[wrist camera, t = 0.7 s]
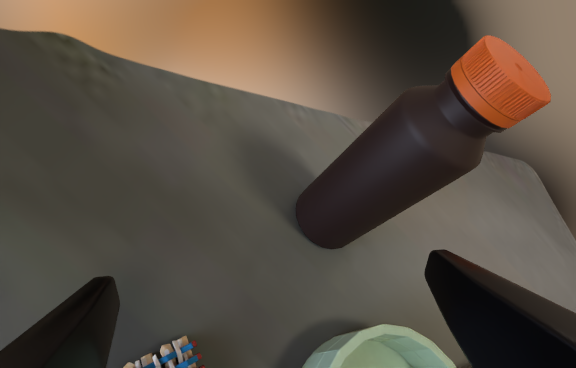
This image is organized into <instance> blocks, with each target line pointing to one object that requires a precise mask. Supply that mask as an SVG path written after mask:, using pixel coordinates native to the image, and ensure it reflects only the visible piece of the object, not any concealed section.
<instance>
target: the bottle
mask: <svg viewBox="0 0 576 368" xmlns="http://www.w3.org/2000/svg"><path fill="white" fill-rule="evenodd" d="M550 100H551V94H550V92H549V89H548V87H547V85H546V84H545V82H544V80H543V79H542V77H541V76H540V75H539V74H538V72H537V71H536V70H535V69H534V68H533V66H532V65H531V64H529V62H528V61H527V60H526V59H525V58H524V57H523V56H522V55H521V54H519V53H518V52H517V51H516V50H515V49H514V48H512V47H511V46H510V45H508V44H507V43H505V42H504V41H502V40H500V39H499V38H496V37H494V36H484V37H483V38H482V39H481V40H480V41H478V42H477V43H476V44H475V45H474V46H473V47H472V48H471V49H470V50H469V51H468V52H467V53H465V54H464V55H463V56H462V57H461V58H460V59H459V60H458V61H457V62H456V63H455V64H454V65H453V66H452V68H451V69H450V70H448V72H447V73H446V74H445V80H444V81H443V82H442V83H441V84H440V85H433V86H432V85H431V86H417V87H412V88H409V89H407V90H405V92H403V93H402V94H401V95H400V96H399V97H398V98H397V99H396V100H395V101H394V102H393V103H392V104H391V105H390V106H389V107H388V108H387V109H386V110H385V111H384V112H383V113H382V114H381V115H380V116H379V117H378V118H377V119H376V120H375V121H374V122H373V123H372V124H371V125H370V126H369V127H368V128H367V129H366V130H365V131H364V132H363V133H362V134H361V135H360V136H359V137H358V138H357V139H356V140H355V141H354V142H353V143H352V144H351V145H350V146H349V147H348V148H347V149H346V150H345V151H344V152H343V153H342V154H341V155H340V156H339V157H338V158H337V159H336V160H335V161H334V162H333V163H332V164H331V165H330V166H329V167H328V168H327V169H326V170H325V171H324V172H323V173H322V174H321V175H320V176H318V177H317V178H316V179H315V180H314V181H313V182H312V183H311V184H310V185H309V186H308V187H307V188H306V189H305V190H304V191H303V193H302V194H301V195H300V196H299V199H298V201H297V204H296V216H297V219H298V223H299V225H300V227H301V229H302V230H303V232H304V234H305V235H306V236H307V237H308V238H309V239H310V240H311V241H312V242H314V243H316V244H317V245H319V246H321V247H324V248H329V249H336V248H342V247H344V246H345V245H347V244H349V243H350V242H352V241H354V240H355V239H357V238H359V237H360V236H362V235H364V234H365V233H367V232H369V231H371V230H372V229H374V228H376V227H377V226H379V225H381V224H382V223H384V222H386V221H387V220H389V219H391V218H392V217H394V216H396V215H397V214H399V213H401V212H402V211H404V210H406V209H407V208H409V207H411V206H413V205H414V204H416V203H418V202H419V201H421V200H423V199H424V198H426V197H428V196H429V195H431V194H433V193H434V192H436V191H438V190H439V189H441V188H443V187H444V186H446V185H448V184H449V183H451V182H453V181H455V180H456V179H458V178H460V177H461V176H463V175H465V174H466V173H468V172H470V171H471V170H473V169H474V168H475V167H477V166H478V165H479V163H480V161H481V158H482V155H483V151H484V145H485V141H486V137H487V136H488V135H489V134H491V133H492V132H498V133H501V132H502V131H504V130H505V129H507V128H510V127H512V126H513V125H515V124H517V123H518V122H520V121H521V120H523V119H525V118H526V117H528V116H529V115H531V114H533V113H534V112H536V111H537V110H539V109H540V108H542V107H544V106H545V105H547V104H548V103H549V102H550Z"/></svg>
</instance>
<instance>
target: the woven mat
mask: <svg viewBox="0 0 576 368" xmlns="http://www.w3.org/2000/svg"><path fill="white" fill-rule="evenodd" d="M172 343H173V346H174V348H175V351H173V349H172V347H171V345H170V344H166V345H162V347H161V350H160V354H161V355H162V358H160V359H157V357H156V355H154V356H153V355H152V353H150V354H147V355H145V356H143V357H142V358H141V361H142V366H143V367H142V368H161V366H160V365H162V364H165V368H197V366H196V363H195V362H197V361H198V360H199V359H201V358H202V357H201V354H200V353H198V354H196V355H194V356H193V354H192V351H191V349H192V348H194V347H195V346H197V344H196V341H193V342H191V343H188V340H187V337H186V336H184V337H182V338H180V339H178V340H176V341H172ZM175 357H178V361H179V364H176V359H175ZM135 366H136V368H141V365H140V361H139V360H138V361H136V362H135V364H132V363H130V362H128V363H127V364H126V365H125V366H124V367H123V368H135ZM199 368H205V366H204V365H202V366H201V367H199Z"/></svg>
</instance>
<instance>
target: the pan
mask: <svg viewBox="0 0 576 368" xmlns="http://www.w3.org/2000/svg"><path fill="white" fill-rule="evenodd" d="M302 368H456V366H455V365H454V363H453V362H452V361H451V360H450V359H449V358H448V357H447V356H446V355H445V354H444V353H443V352H442V351H441V350H440V349H439V348H438V347H437V346H436V345H435V344H434V343H433V342H432V341H431V340H429V339H428V338H426V337H424V336H422V335H421V334H419V333H417V332H415V331H413V330H412V329H410V328H407V327H402V326H395V325H389V324H380V325H376V326H372V327H367V328H363V329H359V330H355V331H351V332H348V333H345V334H341V335H338V336H335V337H333V338H331V339H330V340H328V341H326V342H325V343H323V344H322V345H321V346H320V347H318V348H317V349H316V350H315V351H314V352H313V353H312V355H311V356H310V357H309V358H308V359H307V361H306V362H305V364H304V365H303V367H302Z"/></svg>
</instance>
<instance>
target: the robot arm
mask: <svg viewBox="0 0 576 368" xmlns="http://www.w3.org/2000/svg"><path fill="white" fill-rule="evenodd" d="M425 279H426V281H427V283H428V286H429V288H430V290H431V292H432V294H433V296H434V298H435V300H436V302H437V305H438V307H439V309H440V311H441V313H442V315H443V317H444V319H445V321H446V323H447V325H448V327H449V329H450V331H451V332H452V334H453V336H454V338H455V339H456V341H457V343H458V344H459V346H460V348H461V349H462V351H463V353H464V354H465V356H466V358H467V359H468V361H469V363H470V364H471V366H472V368H576V313H574V312H572V311H570V310H568V309H566V308H564V307H562V306H560V305H558V304H556V303H554V302H552V301H550V300H547V299H545V298H543V297H541V296H539V295H537V294H535V293H533V292H531V291H529V290H527V289H525V288H523V287H521V286H519V285H517V284H515V283H513V282H511V281H509V280H507V279H504V278H502V277H500V276H498V275H496V274H494V273H492V272H490V271H488V270H486V269H484V268H482V267H480V266H478V265H476V264H474V263H472V262H470V261H468V260H466V259H464V258H462V257H460V256H457V255H455V254H453V253H451V252H449V251H447V250H433V251H431V253H430V254H429V258H428V261H427V265H426V268H425ZM119 307H120V300H119V296H118V292H117V288H116V284H115V281H114V278H113V277H111V276H103V277H95V278H93V279H92V280H91V281H89V282H88V283H87V284H85V285H84V286H83V287H82V288H80V289H79V290H78V291H76V292H75V293H74V294H73V295H71V296H70V297H69V298H68V299H66V300H65V301H64V302H62V303H61V304H60V305H59V306H57V307H56V308H55V309H53V310H52V311H51V312H50V313H48V314H47V315H46V316H45V317H43V318H42V319H41V320H39V321H38V322H37V323H36V324H34V325H33V326H32V327H30V328H29V329H28V330H27V331H25V332H24V333H23V334H22V335H20V336H19V337H18V338H16V339H15V340H14V341H13V342H11V343H10V344H9V345H7V346H6V347H5V348H4V349H2V350H1V351H0V368H106V364H107V360H108V356H109V352H110V347H111V343H112V339H113V334H114V330H115V325H116V321H117V316H118V312H119Z"/></svg>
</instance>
